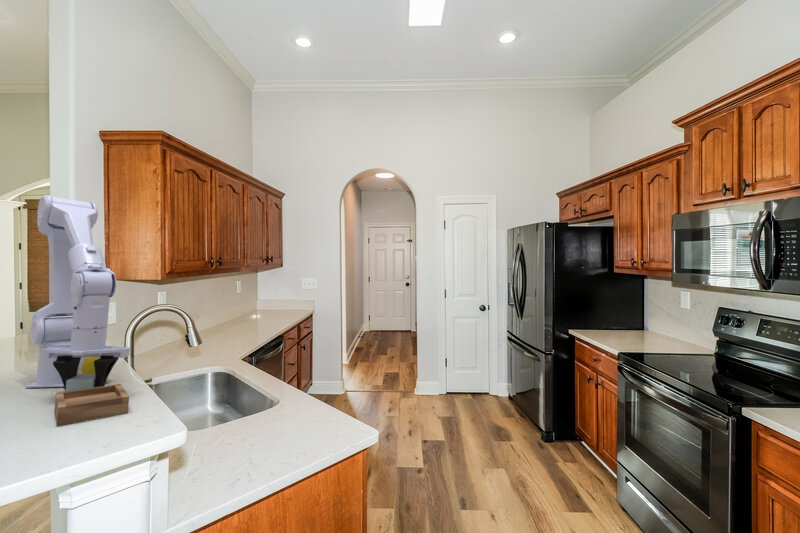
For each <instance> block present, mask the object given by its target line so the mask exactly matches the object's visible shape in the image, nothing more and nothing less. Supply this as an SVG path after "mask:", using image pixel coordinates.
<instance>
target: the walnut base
mask: <svg viewBox="0 0 800 533" xmlns="http://www.w3.org/2000/svg"><path fill="white" fill-rule="evenodd" d="M54 399H55V400H54V410H53V411H54V417H55V424H56V427H60V426H67V425H71V424H72V425H73V424H77V423H83V422H88V421H91V420H92V421H93V420H97V419H104V418H108V417H113V416H114V417H115V416H119V415H124V414H128V413H129V405H130V404H129V403H130V395H129V394H128V393H127V391H126V390H125V388H124V387H123V386H122V383H118V384H117V383H115V384H109V385H105V386H101V387H94V388H87V389H80V390H72V391H65V390H64V391H59V392H55V398H54ZM87 420H88V421H87ZM66 424H67V425H66Z"/></svg>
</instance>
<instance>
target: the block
mask: <svg viewBox="0 0 800 533" xmlns="http://www.w3.org/2000/svg"><path fill="white" fill-rule="evenodd" d="M94 387H95V374H79V375H77V376H75V377H73V378H71V379H68V380H66V391H72V390H80V389H87V388H94Z"/></svg>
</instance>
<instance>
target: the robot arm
mask: <svg viewBox="0 0 800 533" xmlns="http://www.w3.org/2000/svg"><path fill="white" fill-rule="evenodd" d="M37 206H38V207H37V227H38V232H39V233H41V234H43V235H45V236H46V237H47V242H48V300H49V302H48V304H47V305H45V306H43V307H41V308H39V309H38V310H36V311H35V312H34V314H33V315H32V317H31V318H32V319H31V324H30V331H29V333H30V334H29V335H30V336H29V337H30V341H31V343H32V344H33V345H34V346H37V347H39V349H38V359H37V370H36V381H33V382H31V383H29V384H26V385H24V386H25V387H24V388H26V389H27V388H28V389H29V388H57V387H58V388H64V392H65V391H66V380H68V379H71V378H73V377H75V376H77V375H79V374H82V364H83V361H84V359H85V358H86V357H100V359H97V360H95V361H94V366H95V387H101V386H106V384H107V380H108V378H109V375H110V374H111V372H112V370H113V368H114V367H115V365H116V363H117V362H118V360H119V358H121V359H125V358H128V357H130V351H131V347H130V346H114V345H107V337H108V336H107V334H108V325H109V324H108V323H109V322H108V321H109V310H110V298H113V296H114V295H115V294H116V290H117V277H116V273H115V272H114V271H112V270H111V268H109V267H108V268H107V266H106V262H105V259H104V256H103V252H102V249H101V248H100V247H98V246H97V245H94V240H93V234H92V229H93V228H94V226H95V224H96V223H97V221H98V216H99V210H98V207H97V205H96V204H95V203H94V202H91V201H89V202H86V201H82V200H77V199H71V198H63V197H58V196H53V195H49V194H44V195H43V196H41V197H40V199H39V201H38V205H37Z"/></svg>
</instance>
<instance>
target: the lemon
mask: <svg viewBox="0 0 800 533" xmlns="http://www.w3.org/2000/svg"><path fill="white" fill-rule="evenodd" d="M97 359H100V357H86V358H85V359H84V361H83V364H82V374H95V366H94V361H95V360H97Z"/></svg>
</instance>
